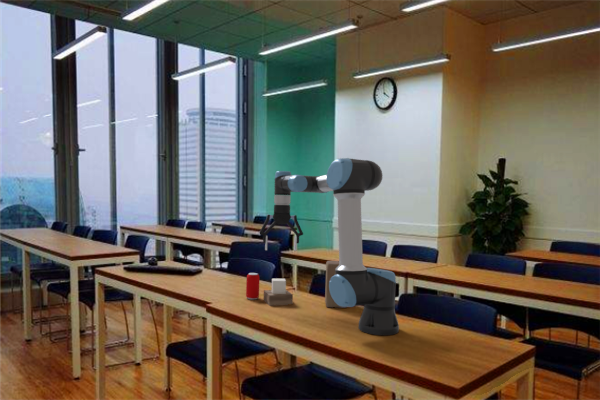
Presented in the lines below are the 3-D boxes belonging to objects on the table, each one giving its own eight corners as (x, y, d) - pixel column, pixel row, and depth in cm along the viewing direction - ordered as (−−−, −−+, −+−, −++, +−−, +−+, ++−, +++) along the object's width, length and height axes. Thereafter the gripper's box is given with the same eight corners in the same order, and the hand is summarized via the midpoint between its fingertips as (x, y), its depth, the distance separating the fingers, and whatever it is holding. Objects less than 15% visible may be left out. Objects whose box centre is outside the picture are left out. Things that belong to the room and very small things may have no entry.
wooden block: (347, 308, 206) (349, 264, 206) (325, 307, 206) (327, 263, 206) (346, 303, 216) (347, 261, 216) (324, 302, 216) (326, 260, 216)
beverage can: (254, 300, 215) (255, 275, 215) (243, 298, 218) (244, 273, 218) (261, 298, 221) (262, 273, 221) (250, 296, 224) (251, 272, 224)
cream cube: (285, 293, 211) (285, 280, 211) (272, 293, 210) (272, 280, 210) (284, 291, 217) (284, 278, 217) (271, 291, 216) (271, 278, 216)
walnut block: (292, 305, 210) (292, 294, 210) (269, 306, 207) (269, 295, 207) (285, 299, 221) (285, 289, 221) (263, 300, 217) (263, 290, 217)
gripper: (307, 204, 217) (306, 249, 218) (254, 203, 214) (253, 248, 214) (310, 205, 210) (308, 251, 210) (255, 203, 206) (254, 250, 207)
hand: (280, 250), depth 212 cm, fingers open, 13 cm apart
